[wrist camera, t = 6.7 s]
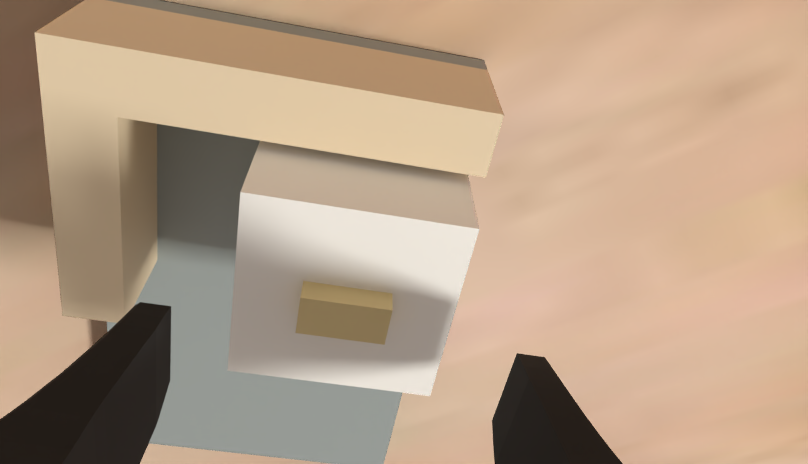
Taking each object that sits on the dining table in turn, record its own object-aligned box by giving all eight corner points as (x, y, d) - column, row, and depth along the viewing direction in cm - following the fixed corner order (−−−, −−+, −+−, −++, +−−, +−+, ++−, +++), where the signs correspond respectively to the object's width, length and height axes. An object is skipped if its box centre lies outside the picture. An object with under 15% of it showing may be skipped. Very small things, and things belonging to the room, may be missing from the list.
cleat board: (382, 452, 27) (381, 541, 23) (120, 422, 25) (81, 511, 22) (483, 60, 18) (504, 114, 15) (101, -11, 17) (34, 32, 14)
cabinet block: (421, 277, 21) (431, 414, 16) (260, 254, 21) (222, 389, 16) (458, 132, 19) (483, 244, 14) (275, 100, 18) (234, 206, 13)
